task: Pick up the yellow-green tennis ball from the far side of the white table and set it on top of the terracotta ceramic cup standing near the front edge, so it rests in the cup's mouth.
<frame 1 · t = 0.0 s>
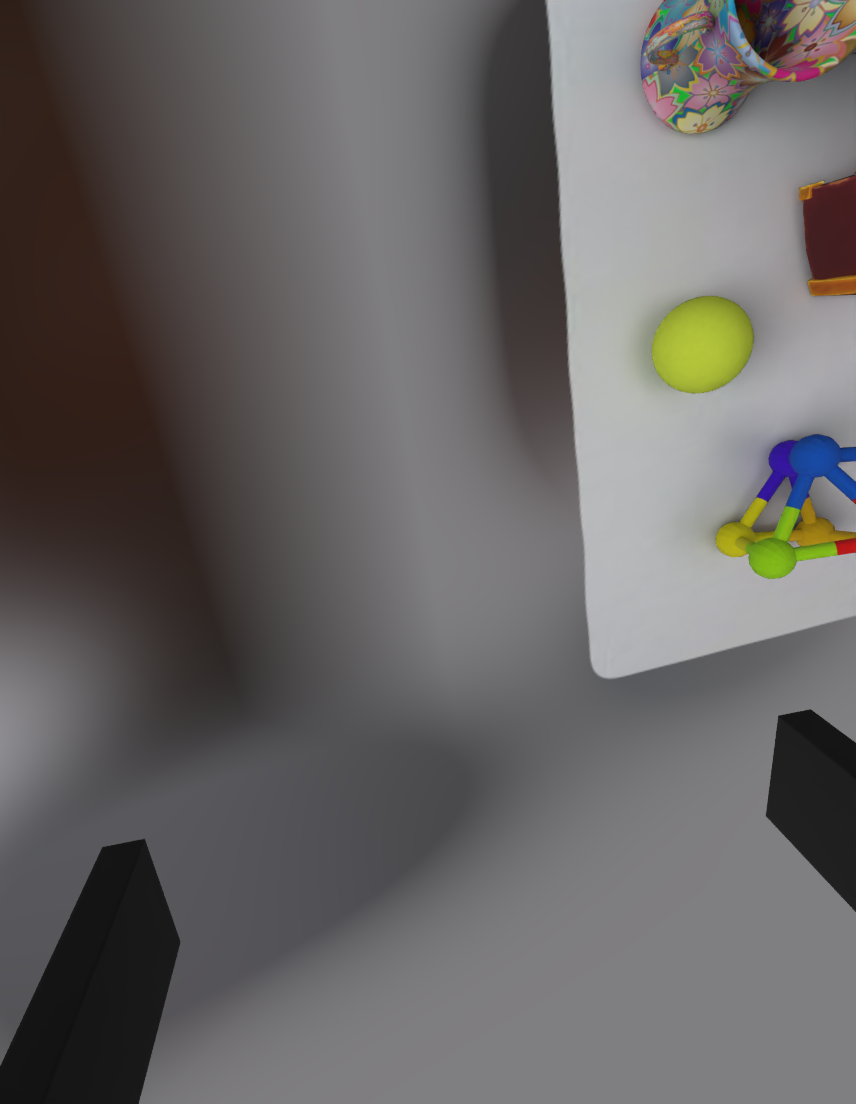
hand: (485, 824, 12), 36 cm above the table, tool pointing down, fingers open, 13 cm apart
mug: (672, 73, 40), on the table
educational toy: (763, 487, 52), on the table
ball: (701, 345, 43), point 3 cm above the table
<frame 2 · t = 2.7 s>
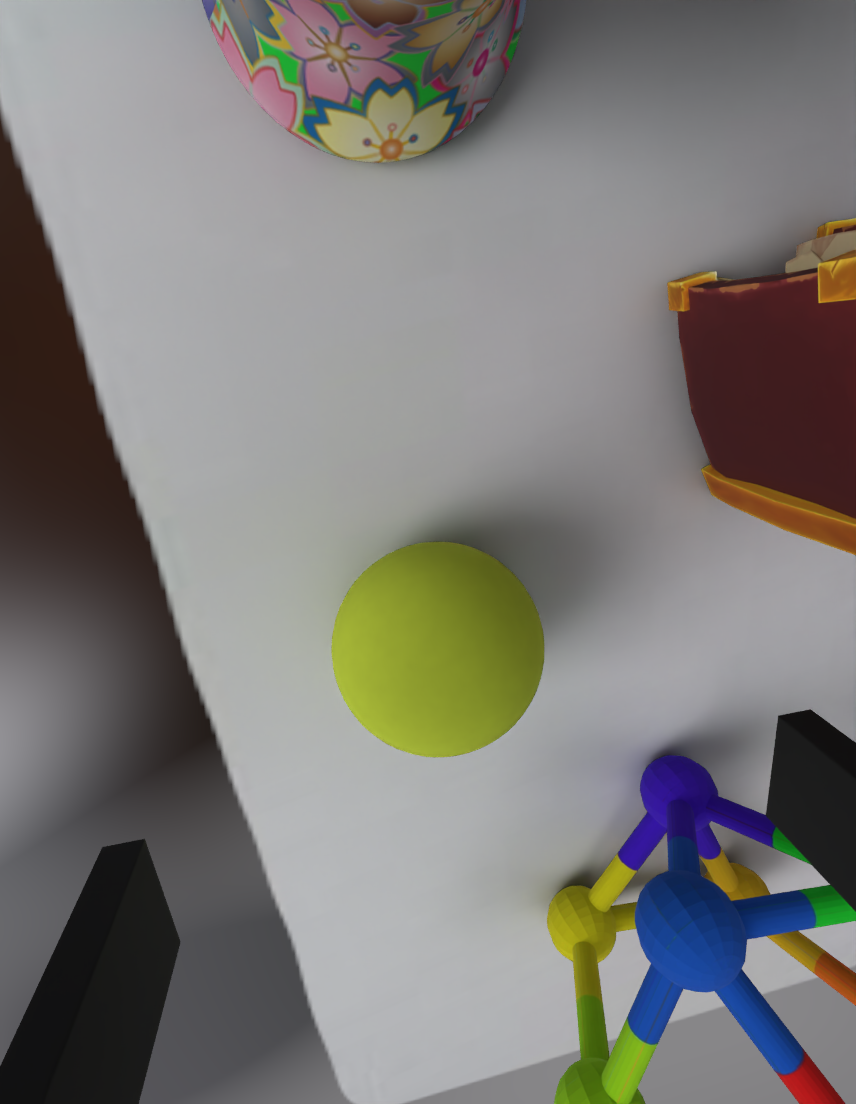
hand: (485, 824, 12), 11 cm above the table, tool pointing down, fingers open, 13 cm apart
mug: (318, 11, 16), on the table
book monster: (809, 365, 21), on the table
educational toy: (639, 816, 27), on the table
ball: (437, 646, 19), point 3 cm above the table
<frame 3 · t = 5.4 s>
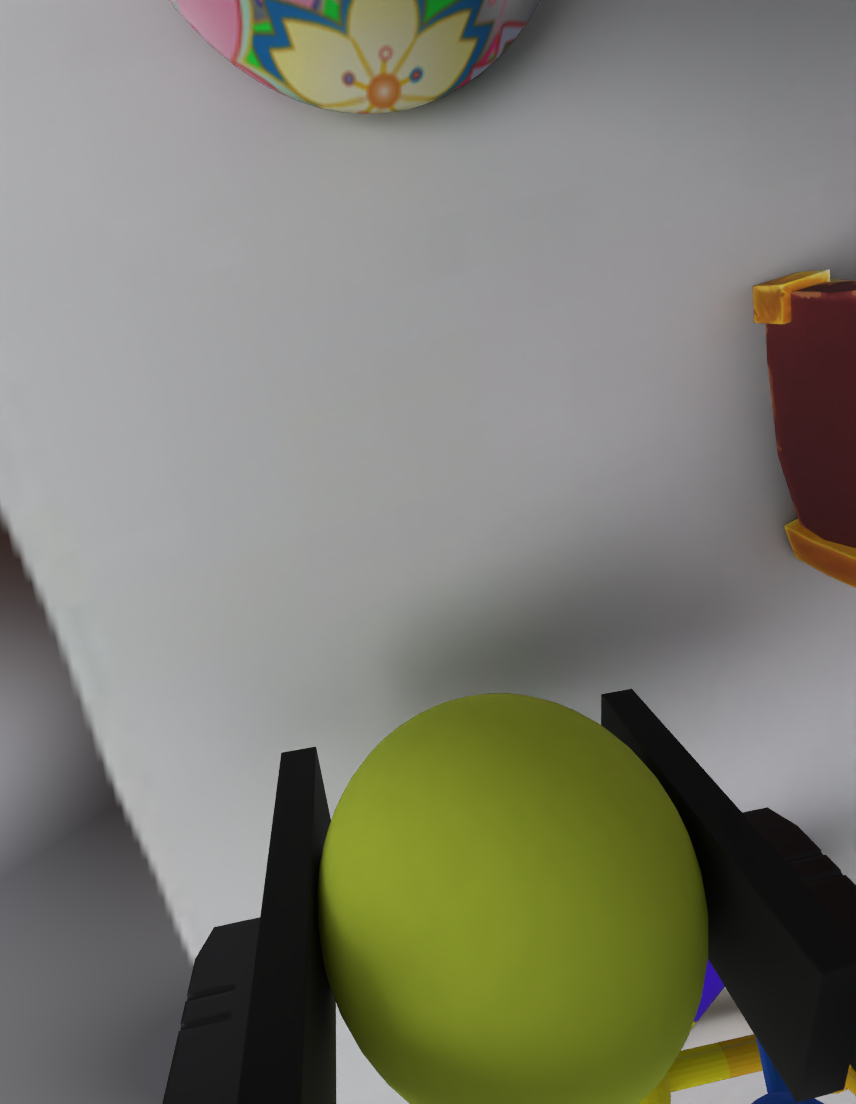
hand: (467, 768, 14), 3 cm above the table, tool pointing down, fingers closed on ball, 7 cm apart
educational toy: (692, 940, 22), on the table
ball: (504, 882, 11), point 6 cm above the table, touching gripper
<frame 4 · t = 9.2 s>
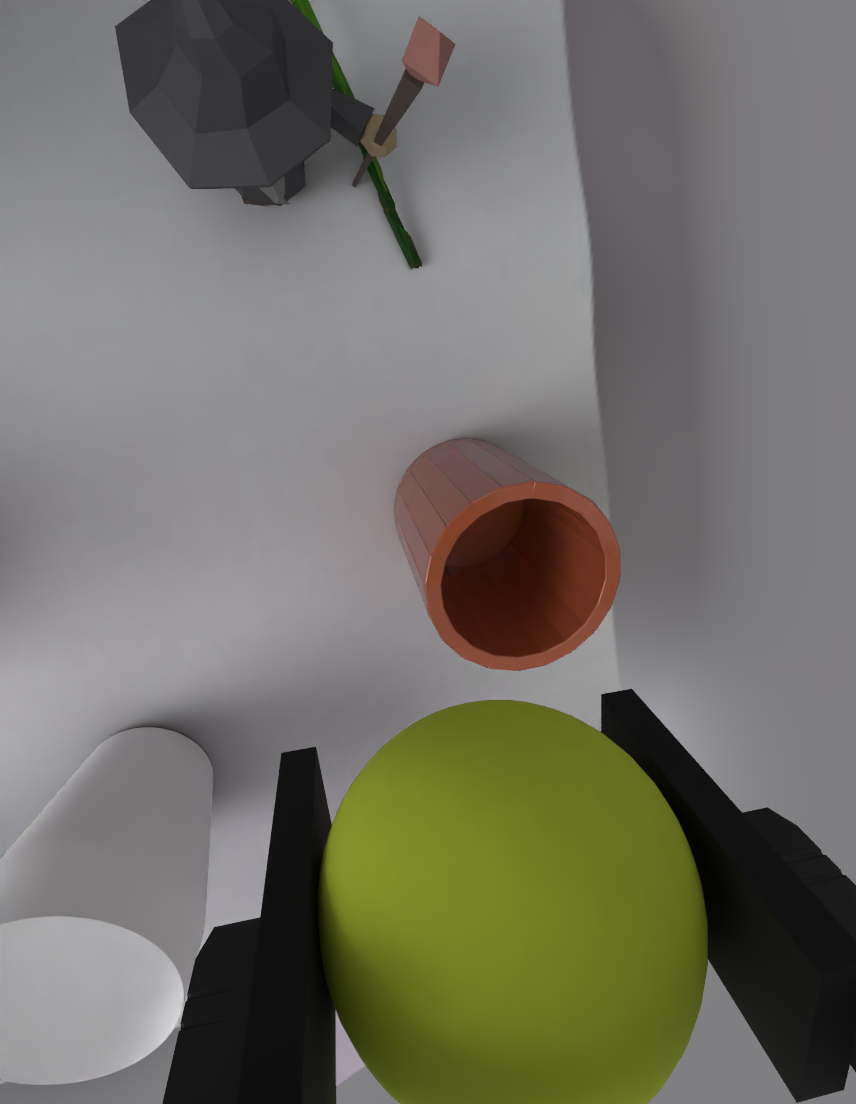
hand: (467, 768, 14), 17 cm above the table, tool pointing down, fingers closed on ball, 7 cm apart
electronic device: (346, 853, 36), on the table
terracotta cup: (463, 508, 30), on the table
wizard figurine: (292, 158, 24), on the table
ball: (503, 889, 11), point 21 cm above the table, touching gripper
cup: (152, 773, 32), on the table
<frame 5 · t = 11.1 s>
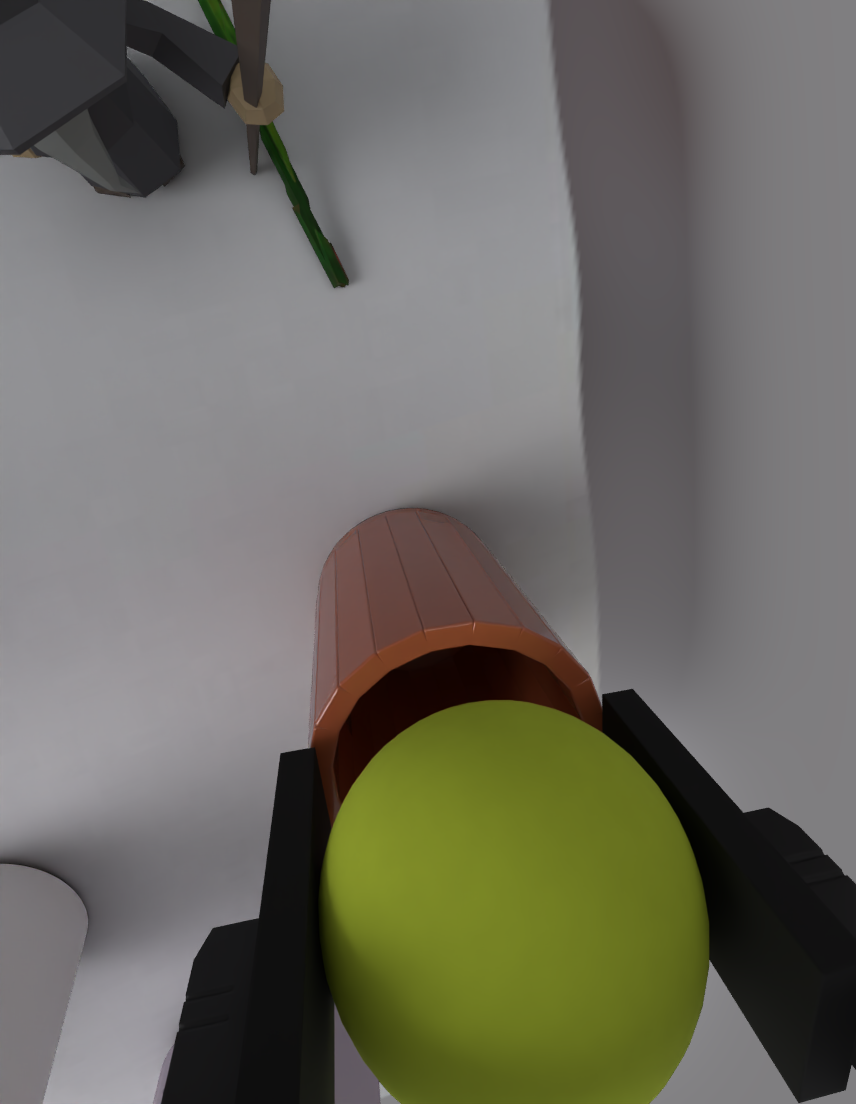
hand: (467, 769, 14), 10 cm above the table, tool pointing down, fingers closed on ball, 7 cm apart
electronic device: (265, 1001, 29), on the table
terracotta cup: (409, 595, 23), on the table
wizard figurine: (166, 133, 17), on the table
ball: (505, 889, 11), point 13 cm above the table, touching gripper
cup: (8, 915, 25), on the table
when the fingers open (10 cm above the table, at t = 13.0 s): ball drops 2 cm, resting on terracotta cup.
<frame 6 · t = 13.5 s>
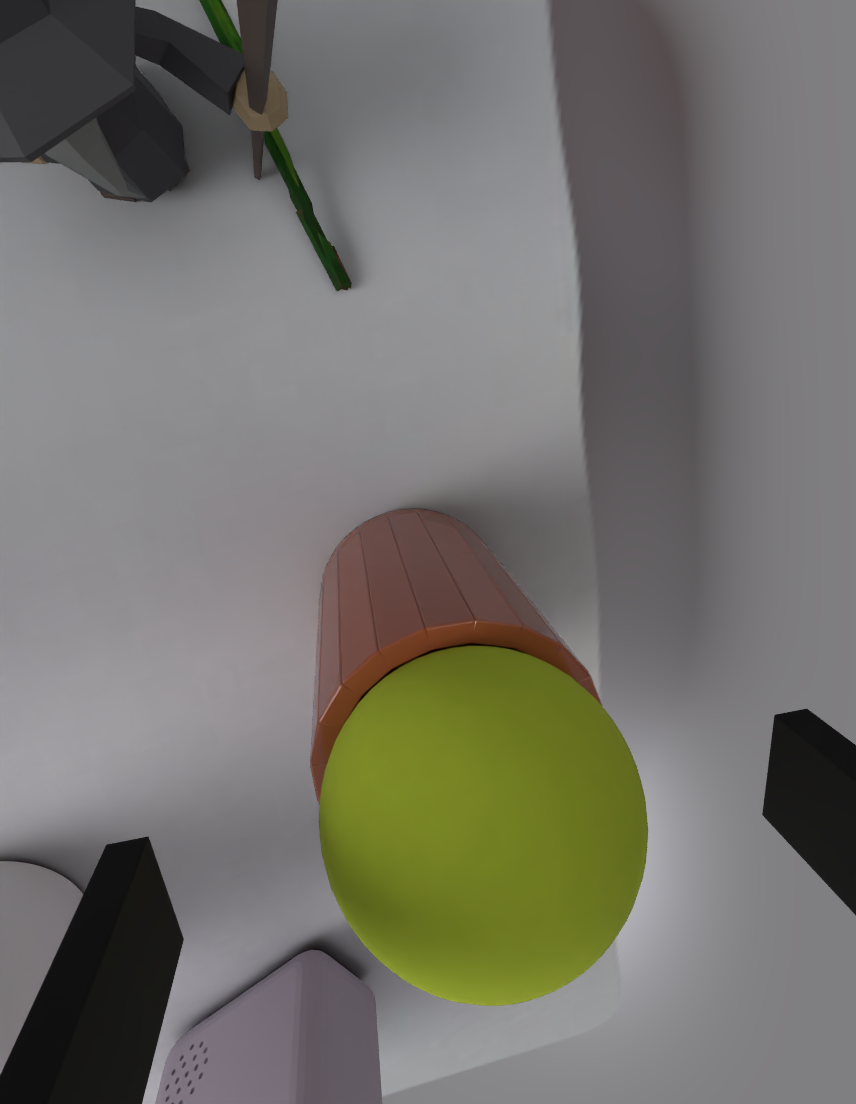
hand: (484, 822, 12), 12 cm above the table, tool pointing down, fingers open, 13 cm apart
electronic device: (267, 999, 30), on the table
terracotta cup: (411, 595, 23), on the table
wizard figurine: (171, 138, 17), on the table
ball: (479, 805, 12), point 12 cm above the table, tilted 5°, touching terracotta cup
cup: (13, 912, 25), on the table
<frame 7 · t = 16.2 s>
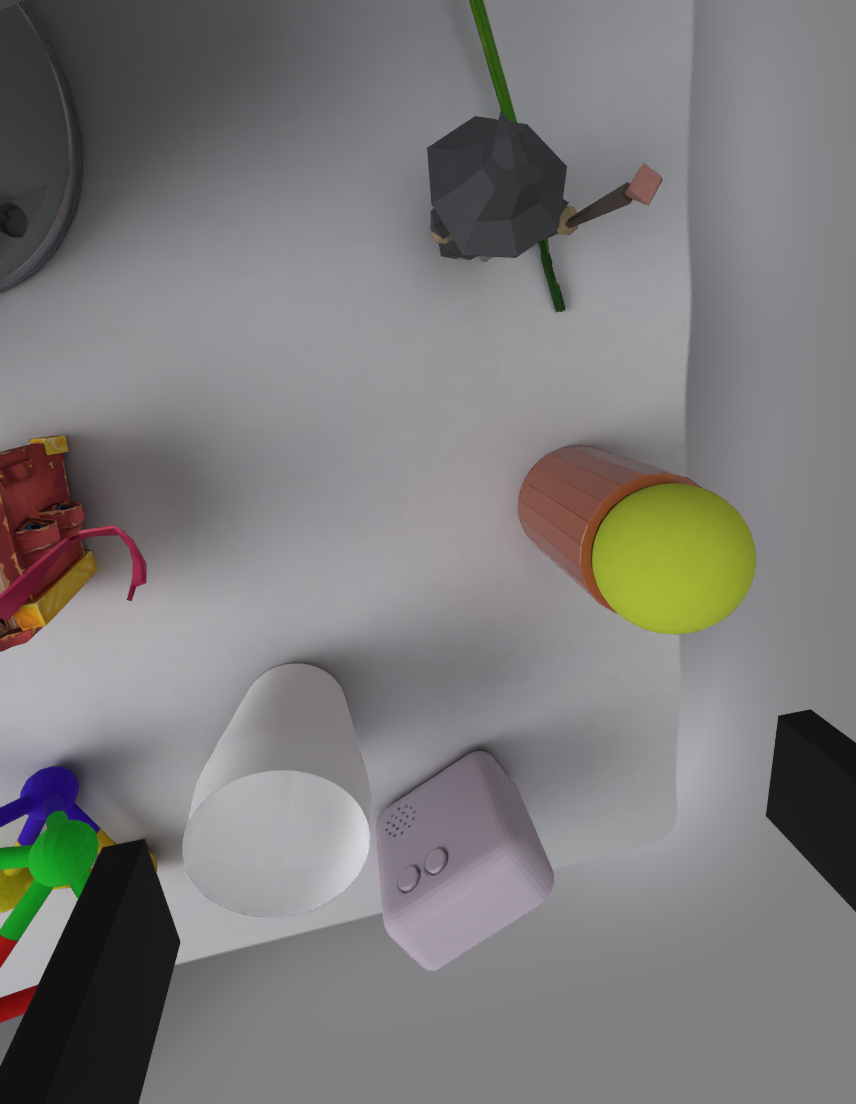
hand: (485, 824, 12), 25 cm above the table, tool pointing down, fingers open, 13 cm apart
book monster: (82, 514, 33), on the table
electronic device: (440, 791, 43), on the table
educational toy: (60, 810, 39), on the table
terracotta cup: (572, 501, 37), on the table
flower: (418, 19, 28), on the table
wizard figurine: (479, 225, 32), on the table
ball: (669, 558, 26), point 12 cm above the table, tilted 5°, touching terracotta cup
cup: (296, 704, 39), on the table
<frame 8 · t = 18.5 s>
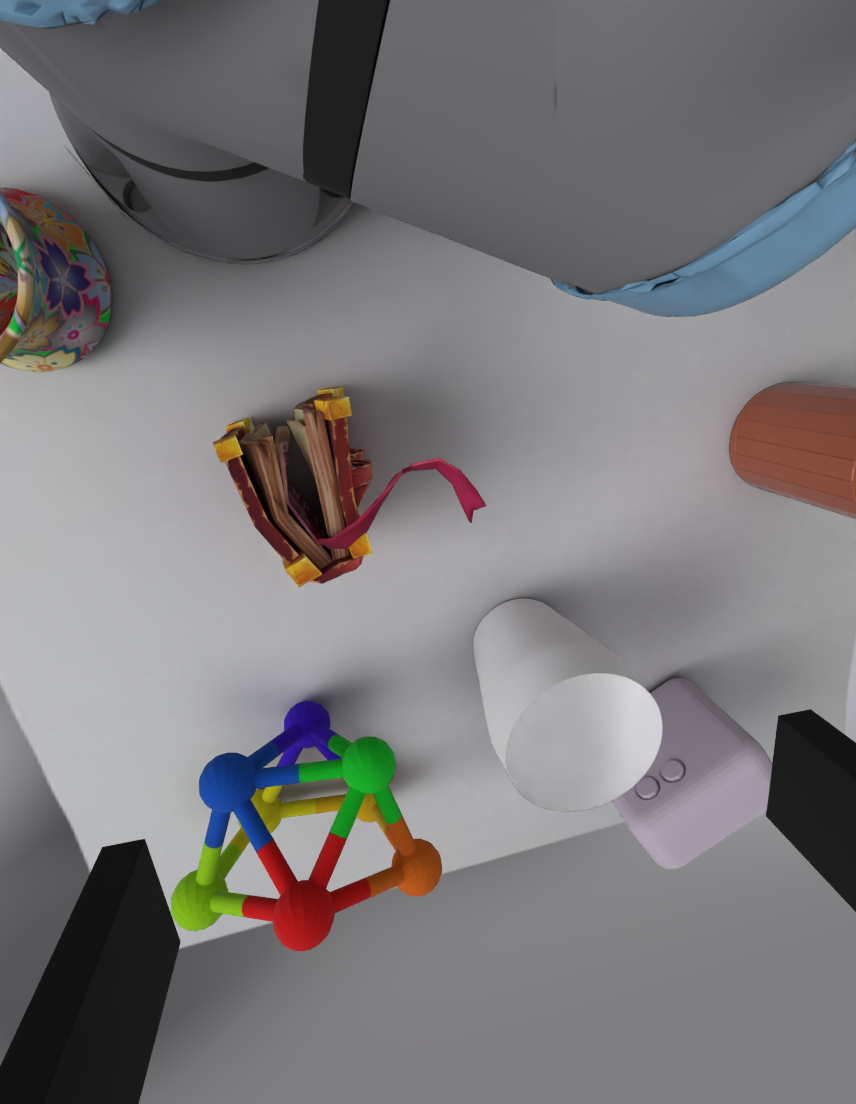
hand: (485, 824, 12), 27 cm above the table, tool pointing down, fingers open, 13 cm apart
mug: (7, 295, 30), on the table
book monster: (346, 461, 36), on the table
electronic device: (635, 718, 46), on the table
educational toy: (303, 743, 42), on the table
terracotta cup: (777, 436, 40), on the table
cup: (516, 638, 42), on the table
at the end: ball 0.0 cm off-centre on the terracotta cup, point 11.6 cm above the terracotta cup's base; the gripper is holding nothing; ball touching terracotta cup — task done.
